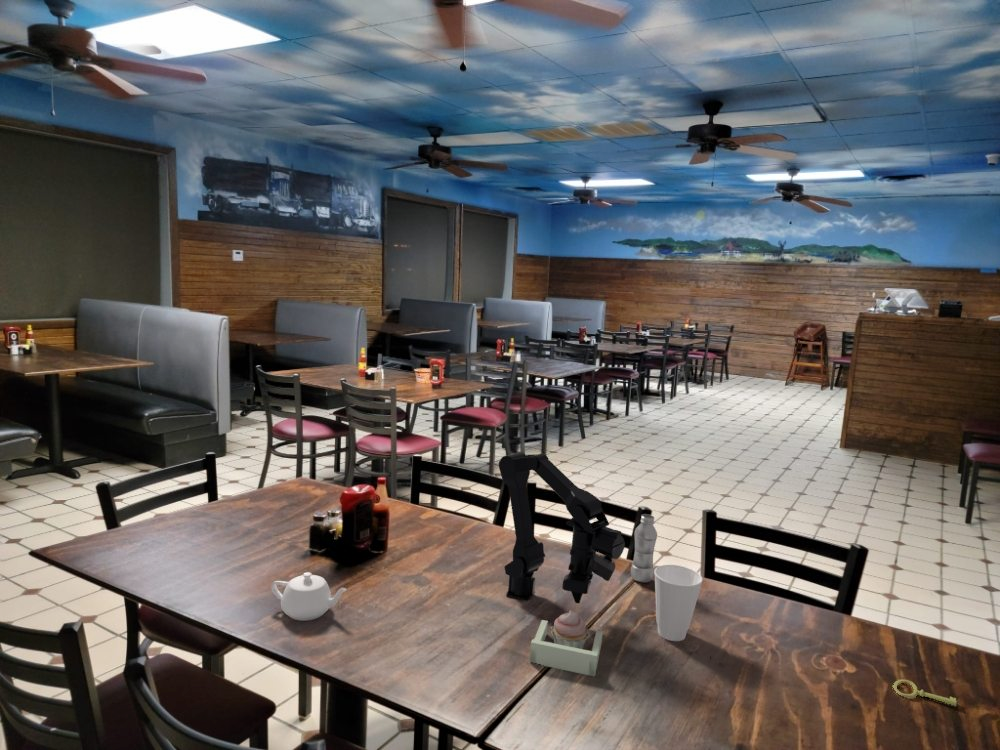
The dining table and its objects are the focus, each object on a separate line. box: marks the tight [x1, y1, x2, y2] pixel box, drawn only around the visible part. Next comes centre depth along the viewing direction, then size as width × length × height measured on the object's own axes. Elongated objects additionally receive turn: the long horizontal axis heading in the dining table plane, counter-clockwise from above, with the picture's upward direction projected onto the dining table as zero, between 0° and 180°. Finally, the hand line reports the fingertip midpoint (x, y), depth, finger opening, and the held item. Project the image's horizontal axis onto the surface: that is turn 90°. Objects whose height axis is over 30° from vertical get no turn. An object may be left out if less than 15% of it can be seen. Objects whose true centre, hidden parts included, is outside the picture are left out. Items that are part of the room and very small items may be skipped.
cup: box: [653, 564, 704, 642], centre depth 168 cm, size 12×12×16 cm
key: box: [892, 679, 957, 707], centre depth 151 cm, size 7×12×2 cm, turn 74°
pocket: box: [529, 619, 603, 677], centre depth 157 cm, size 15×14×5 cm
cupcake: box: [550, 609, 590, 650], centre depth 158 cm, size 9×9×10 cm
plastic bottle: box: [630, 513, 658, 584], centre depth 197 cm, size 6×7×20 cm
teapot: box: [270, 572, 347, 622], centre depth 167 cm, size 20×12×10 cm, turn 79°
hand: (577, 602), depth 172 cm, fingers closed
